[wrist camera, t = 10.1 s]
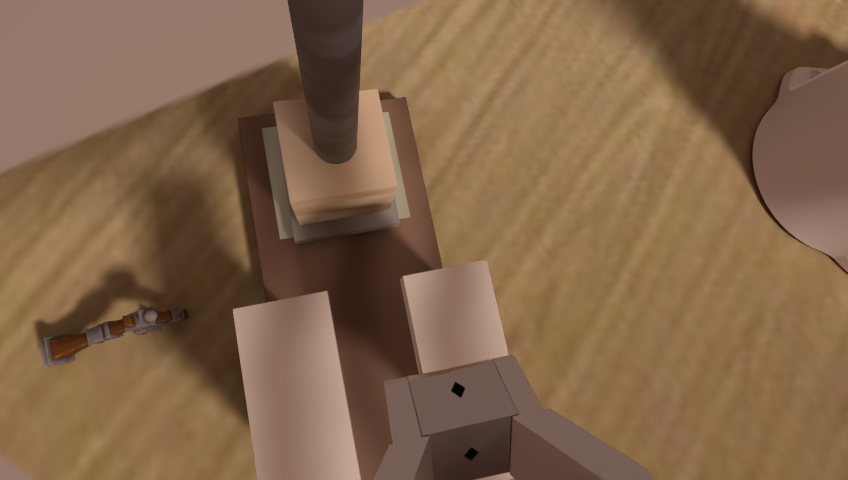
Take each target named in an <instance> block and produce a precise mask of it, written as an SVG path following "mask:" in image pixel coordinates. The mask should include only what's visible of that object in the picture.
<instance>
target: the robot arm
mask: <svg viewBox="0 0 848 480" xmlns="http://www.w3.org/2000/svg"><path fill="white" fill-rule="evenodd" d="M753 168H754V174H755V178H756V181H757V185H758V187H759V190H760V193H761V195H762V197H763V199H764V201H765V203H766V205H767V206H768V208H769V209H770V211H771V213H772V214H773V215H774V217H775V218H776V219H777V220H778V221H779V223H780V224H781V225H782V226H783V227H784V228H785V229H786V230H787V231H788V232H789V233H791V234H792V235H793V236H794V237H796V238H797V239H798V240H800V241H801V242H803V243H805V244H806V245H808V246H810V247H812V248H815V249H817V250H819V251H821V252H824V253H826V254H827V255H829V256H831V257H832V258H834V259H835V260H836V262H837V263H838V264H839V265H840V266H841V267H843V268H844V269H845V270H846V271H847V272H848V60H847V61H845V62H843V63H841V64H839V65H837V66H835V67H833V68H831V69H825V68H812V67H798V68H796V69H794V70H791V71H789V72H787V73H786V74H785V75H784V77H783V79H782V82H781V86H780V90H779V95H778V98H777V100H776V102H775V103H774V105H773V106H772V107H771V108H770V109H769V110H768V112H767V113H766V114H765V115H764V117H763V118H762V120H761V122H760V124H759V126H758V128H757V131H756V134H755V138H754V143H753ZM384 388H385V395H386V402H387V409H388V416H389V423H390V429H391V436H392V441H393V444H390V445H389V446H388V448H387V450H386V453H385V455H384V457H383V459H382V461H381V464H380V466H379V468H378V470H377V472H376V475H375V477H374V479H373V480H476V479H480V478H485V477H489V476H494V475H499V474H503V473H508V472H510V475H511V476H512V477H513V478H514V479H515V480H655V479H654V477H653V476H652V474H651V473H650V471H649V470H648V469H647V468H645V467H644V466H642V465H640V464H639V463H637V462H636V461H634V460H632V459H631V458H629V457H628V456H626V455H624V454H623V453H621V452H619V451H618V450H616V449H615V448H613V447H611V446H610V445H608V444H607V443H605V442H603V441H602V440H600V439H598V438H597V437H595V436H594V435H592V434H590V433H589V432H587V431H586V430H584V429H582V428H581V427H579V426H578V425H576V424H574V423H573V422H571V421H569V420H568V419H566V418H565V417H563V416H561V415H560V414H558V413H557V412H555V411H553V410H552V409H550V408H548V409H543V408H542V406H541V404H540V402H539V401H538V399H537V397H536V395H535V393H534V391H533V389H532V387H531V386H530V384H529V382H528V380H527V378H526V376H525V374H524V373H523V371H522V369H521V367H520V365H519V363H518V361H517V360H516V358H515V357H514V356H513V355H507V356H503V357H498V358H493V359H491V360H490V359H488V360H483V361H479V362H474V363H470V364H465V365H461V366H456V367H452V368H448V369H444V370H439V371H433V372H428V373H422V374H417V375H411V376H407V378H406V377H403V378H397V379H392V380H386V381H384Z"/></svg>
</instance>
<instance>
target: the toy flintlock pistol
mask: <svg viewBox="0 0 848 480" xmlns="http://www.w3.org/2000/svg"><path fill="white" fill-rule="evenodd" d="M122 317H123V318H122V319H121V320H117V321H108V322H105V323H103V324H99V325H97V326H96V327H93V328H90V329H85V330H86V332H84V333H81V334H78V335H74V336H71V335H70V334H67V335H59V336H51V337H44V338H39V344H40V349H41V354H42V359H43V365H44V367H50V366H55V365H60V364H66V363H70V362H71V361H74V360H75V355H74V354H75V353H77V352H79V351H80V350H82V349H84V348H86V347H88V346H90V345H92V344H98V343H103V342H104V341H107V340H110V339H113V338H116V337H120V336H123V333H124V332H128V331H132V332H134V333H136V335H141V334H147V333H148V332H150V331H157V330H162V329H161V325H162V324H164V322H165V323H172V322H176V321H179V320H184V319H187V318H189V317H188V313H187V309H183V310H182V309H181V310H179V309H172V310H168V311H166V312H158V313H157V312H156V311H155V310H152V309H146V310H139V311H137V312H135V313H132V314H130V315H127V316H122Z"/></svg>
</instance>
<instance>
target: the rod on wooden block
mask: <svg viewBox="0 0 848 480" xmlns="http://www.w3.org/2000/svg"><path fill="white" fill-rule="evenodd" d="M288 5H289V11H290V16H291V22H292V27H293V32H294V38H295V43H296V49H297V55H298V61H299V66H300V72H301V77H302V83H303V88H304V94H305V98H299V99H291V100H282V101H274V102H273V105H274V111H275V117H276V123H277V126H275V129H276V135H277V141H278V147H279V153H280V159H281V165H282V171H283V176H284V182H285V188H286V194H287V200H288V206H289V212H290V218H291V223H292V229H293V235H294V241H295V243H296V244H300V243H306V242H311V241H317V240H323V239H329V238H334V237H340V236H346V235H351V234H357V233H363V232H368V231H374V230H380V229H386V228H391V227H397V226H399V224H400V220H399V215H398V210H397V206H396V201H395V193H396V190H397V187H398V185H397V180H396V175H395V170H394V165H393V160H392V156H391V151H390V146H389V141H388V136H387V132H386V127H385V122H384V117H383V112H382V107H381V103H380V98H379V93H378V89H372V90H364V91H359V87H360V65H361V42H362V20H363V18H362V17H363V0H288Z"/></svg>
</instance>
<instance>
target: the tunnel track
mask: <svg viewBox="0 0 848 480" xmlns="http://www.w3.org/2000/svg"><path fill="white" fill-rule="evenodd" d="M380 103H381V107H382V112H383V117H384V122H385V127H386V132H387V136H388V141H389V146H390V151H391V156H392V160H393V165H394V170H395V175H396V180H397V185H398V187H397V190H396V193H395V201H396V206H397V210H398V215H399V220H400V224H399V226H397V227H391V228H386V229H380V230H374V231H368V232H363V233H357V234H351V235H346V236H340V237H334V238H329V239H323V240H317V241H311V242H306V243H300V244H296V243H295V241H294V235H293V229H292V223H291V218H290V212H289V206H288V200H287V194H286V188H285V182H284V176H283V171H282V165H281V159H280V153H279V147H278V141H277V135H276V129H275V126H277V123H276V117H275V114H269V115H261V116H253V117H245V118H238V124H239V131H240V137H241V143H242V150H243V156H244V162H245V169H246V175H247V181H248V188H249V194H250V200H251V207H252V213H253V219H254V226H255V232H256V238H257V245H258V251H259V257H260V264H261V270H262V276H263V283H264V289H265V295H266V302H267V303H262V304H257V305H252V306H246V307H241V308H236V309H233V315H234V322H235V329H236V336H237V343H238V349H239V356H240V363H241V370H242V377H243V383H244V390H245V397H246V404H247V411H248V417H249V424H250V431H251V438H252V445H253V452H254V458H255V465H256V472H257V479H258V480H373V479H374V477H375V475H376V472H377V470H378V468H379V466H380V464H381V461H382V459H383V457H384V455H385V453H386V450H387V448H388V446H389V445H390V444H393V441H392V436H391V429H390V423H389V416H388V409H387V402H386V395H385V388H384V381H386V380H392V379H397V378H403V377H406V378H407V376H411V375H417V374H422V373H428V372H433V371H439V370H444V369H448V368H452V367H456V366H461V365H465V364H470V363H474V362H479V361H483V360H488V359H490V360H491V359H493V358H498V357H503V356H507V355H508V351H507V346H506V342H505V338H504V333H503V329H502V325H501V320H500V316H499V312H498V307H497V303H496V299H495V294H494V290H493V286H492V281H491V277H490V273H489V269H488V264H487V260H483V261H478V262H473V263H468V264H463V265H458V266H452V267H447V268H442V263H441V258H440V254H439V249H438V244H437V240H436V235H435V231H434V226H433V221H432V217H431V212H430V208H429V203H428V198H427V194H426V189H425V184H424V180H423V175H422V171H421V166H420V161H419V157H418V152H417V148H416V143H415V138H414V134H413V129H412V124H411V120H410V115H409V111H408V106H407V101H406V97H403V98H395V99H387V100H380ZM512 478H513V477H512V476H511V475H510V472H508V473H503V474H499V475H494V476H489V477H485V478H480V479H476V480H508V479H512Z"/></svg>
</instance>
